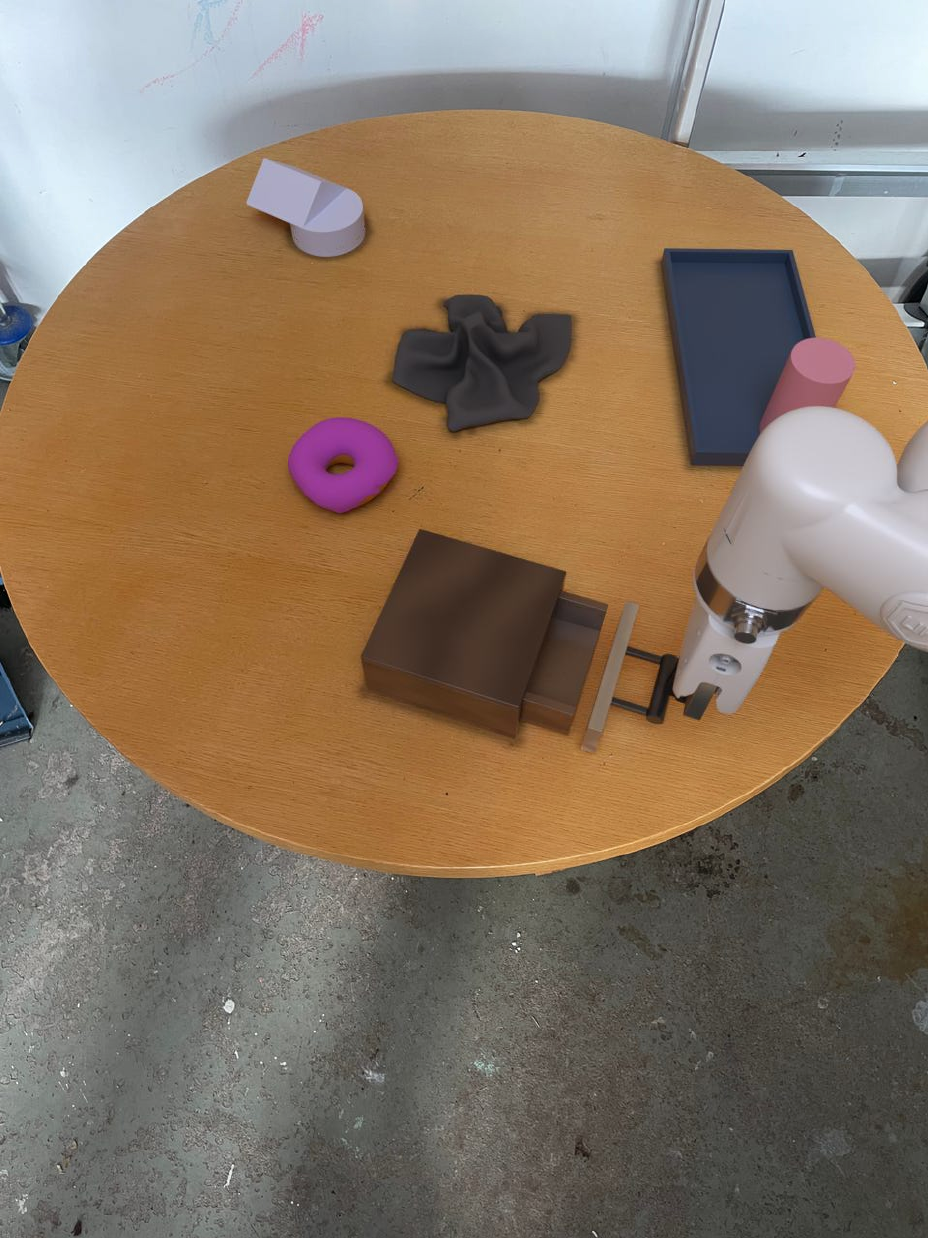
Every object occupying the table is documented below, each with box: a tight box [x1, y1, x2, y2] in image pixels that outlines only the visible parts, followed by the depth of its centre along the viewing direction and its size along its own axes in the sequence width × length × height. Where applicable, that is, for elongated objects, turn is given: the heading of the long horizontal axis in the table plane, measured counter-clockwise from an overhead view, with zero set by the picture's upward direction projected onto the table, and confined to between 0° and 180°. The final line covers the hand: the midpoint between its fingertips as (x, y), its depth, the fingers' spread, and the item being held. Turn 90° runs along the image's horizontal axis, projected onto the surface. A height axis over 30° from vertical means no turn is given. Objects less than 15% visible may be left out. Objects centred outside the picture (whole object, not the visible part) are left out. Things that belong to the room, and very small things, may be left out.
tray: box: [660, 247, 817, 467], centre depth 96 cm, size 31×15×2 cm, turn 179°
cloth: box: [390, 293, 572, 432], centre depth 94 cm, size 22×19×6 cm
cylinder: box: [759, 337, 856, 434], centre depth 86 cm, size 6×6×10 cm
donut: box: [287, 416, 400, 514], centre depth 86 cm, size 10×10×5 cm
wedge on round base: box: [245, 157, 366, 258], centre depth 104 cm, size 9×7×13 cm
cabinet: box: [360, 528, 567, 740], centre depth 75 cm, size 14×14×7 cm
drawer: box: [519, 590, 679, 755], centre depth 74 cm, size 17×12×5 cm
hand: (684, 691), depth 71 cm, fingers closed
